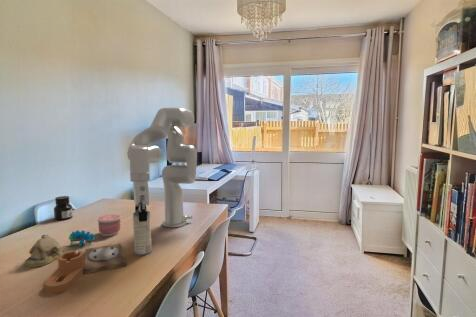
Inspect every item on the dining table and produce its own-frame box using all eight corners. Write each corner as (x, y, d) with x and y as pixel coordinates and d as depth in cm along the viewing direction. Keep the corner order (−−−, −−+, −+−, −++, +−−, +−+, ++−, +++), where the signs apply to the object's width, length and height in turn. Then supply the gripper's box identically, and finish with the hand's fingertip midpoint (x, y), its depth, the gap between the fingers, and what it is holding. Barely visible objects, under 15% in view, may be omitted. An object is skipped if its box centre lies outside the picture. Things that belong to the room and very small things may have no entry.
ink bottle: (66, 220, 173) (65, 199, 172) (50, 220, 173) (49, 199, 172) (76, 215, 183) (74, 195, 181) (60, 215, 183) (59, 195, 182)
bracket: (65, 268, 118) (64, 251, 117) (88, 267, 119) (87, 250, 118) (40, 295, 100) (38, 274, 100) (67, 293, 101) (65, 273, 100)
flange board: (120, 246, 138) (120, 240, 138) (125, 265, 120) (125, 258, 120) (85, 252, 132) (84, 245, 132) (84, 273, 114) (84, 265, 114)
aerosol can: (153, 248, 136) (151, 203, 133) (148, 255, 129) (147, 208, 127) (137, 248, 136) (135, 203, 133) (132, 255, 129) (130, 208, 127)
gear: (99, 237, 145) (88, 227, 137) (96, 249, 141) (84, 240, 133) (76, 239, 146) (64, 230, 138) (73, 252, 142) (60, 243, 134)
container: (113, 238, 148) (112, 221, 147) (93, 236, 150) (92, 220, 150) (125, 230, 159) (124, 214, 158) (106, 228, 161) (106, 213, 160)
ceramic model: (41, 252, 133) (39, 229, 132) (68, 252, 133) (66, 229, 132) (19, 267, 119) (16, 242, 118) (49, 267, 119) (47, 242, 118)
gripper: (153, 179, 122) (154, 222, 124) (145, 173, 138) (146, 211, 139) (133, 180, 119) (134, 225, 121) (127, 174, 134) (129, 213, 136)
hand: (141, 218), depth 130 cm, fingers open, 9 cm apart
